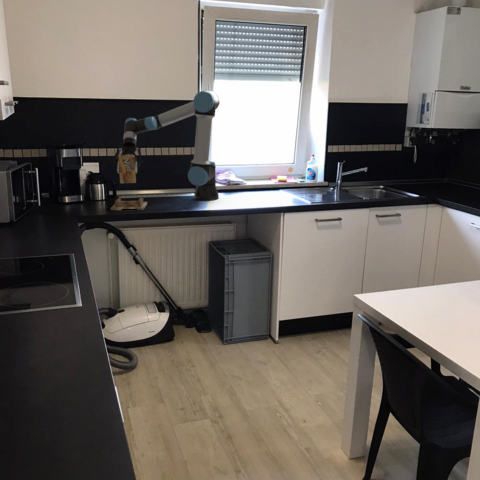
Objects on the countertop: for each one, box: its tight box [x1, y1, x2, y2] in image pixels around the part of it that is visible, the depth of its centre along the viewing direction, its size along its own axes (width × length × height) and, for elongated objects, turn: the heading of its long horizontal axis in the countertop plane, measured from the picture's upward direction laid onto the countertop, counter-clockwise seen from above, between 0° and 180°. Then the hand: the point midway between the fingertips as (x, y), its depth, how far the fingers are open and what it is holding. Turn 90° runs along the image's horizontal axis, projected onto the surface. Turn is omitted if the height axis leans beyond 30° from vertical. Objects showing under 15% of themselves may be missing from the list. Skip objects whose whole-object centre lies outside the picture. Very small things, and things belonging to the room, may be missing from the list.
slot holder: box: [110, 197, 148, 211], centre depth 306 cm, size 18×18×4 cm
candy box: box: [118, 155, 137, 184], centre depth 301 cm, size 9×4×15 cm, turn 103°
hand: (127, 171), depth 300 cm, fingers closed on candy box, 9 cm apart
